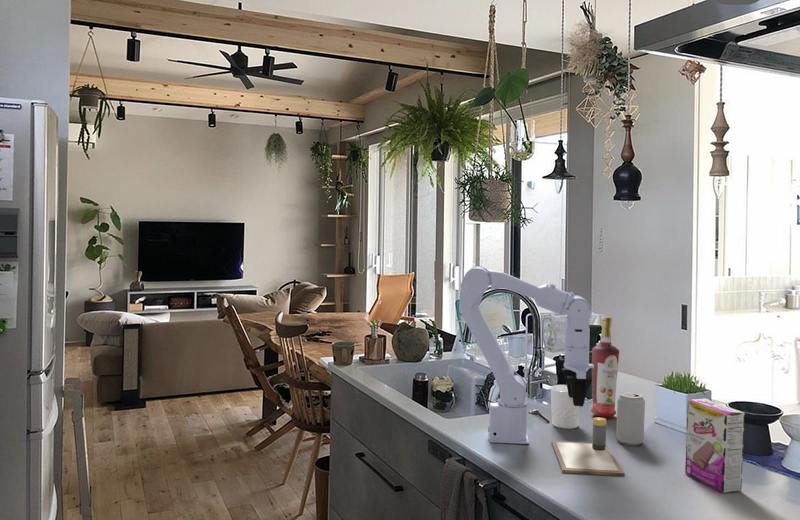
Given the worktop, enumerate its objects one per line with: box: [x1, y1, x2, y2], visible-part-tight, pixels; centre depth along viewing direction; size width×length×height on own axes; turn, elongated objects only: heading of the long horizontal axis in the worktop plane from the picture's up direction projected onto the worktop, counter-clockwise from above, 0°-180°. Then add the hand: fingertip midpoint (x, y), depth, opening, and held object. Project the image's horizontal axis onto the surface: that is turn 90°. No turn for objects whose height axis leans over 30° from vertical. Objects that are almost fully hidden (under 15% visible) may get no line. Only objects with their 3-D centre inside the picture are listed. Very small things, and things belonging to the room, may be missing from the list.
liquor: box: [590, 316, 620, 420], centre depth 182 cm, size 7×7×28 cm
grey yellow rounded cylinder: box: [591, 416, 608, 451], centre depth 154 cm, size 3×3×7 cm
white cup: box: [550, 384, 581, 430], centre depth 174 cm, size 8×8×10 cm
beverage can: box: [615, 391, 646, 447], centre depth 160 cm, size 6×6×12 cm
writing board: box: [550, 440, 626, 477], centre depth 149 cm, size 13×19×1 cm
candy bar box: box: [684, 398, 746, 494], centre depth 135 cm, size 11×5×16 cm, turn 17°
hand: (575, 401), depth 159 cm, fingers open, 7 cm apart
